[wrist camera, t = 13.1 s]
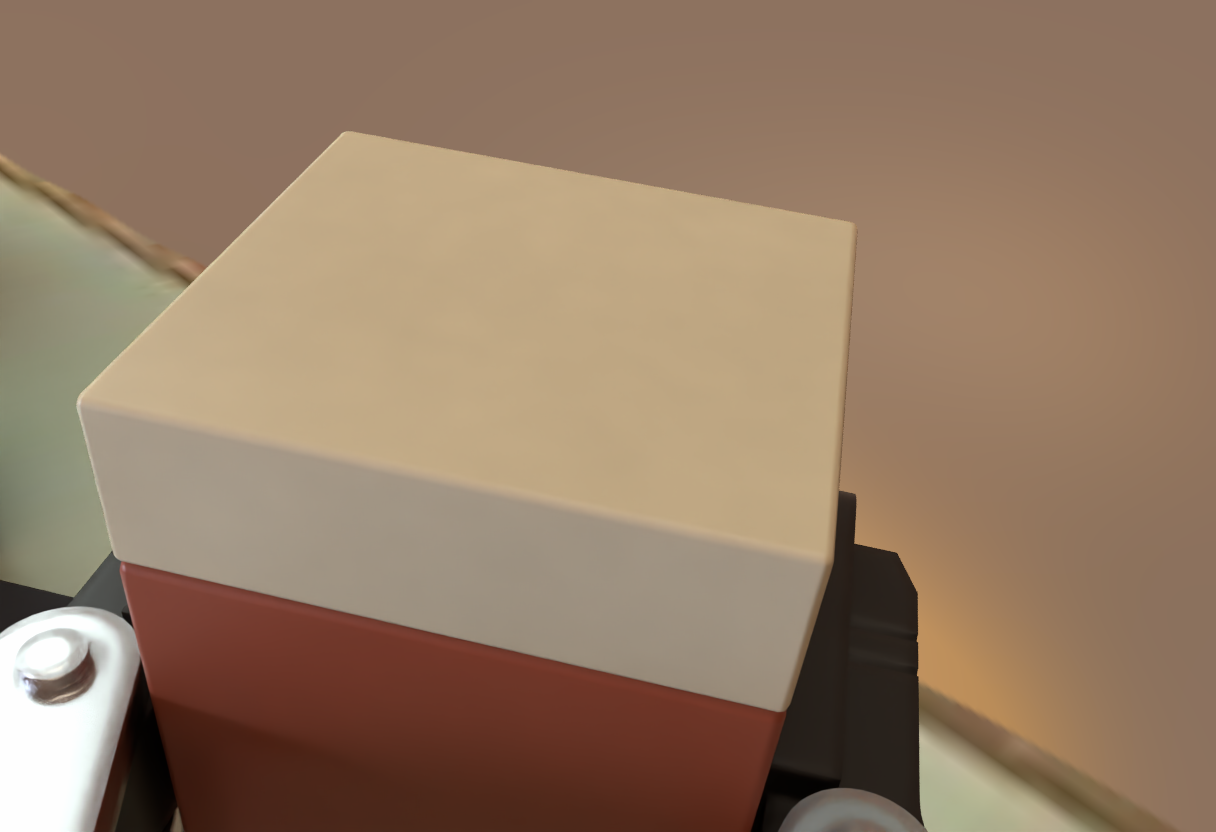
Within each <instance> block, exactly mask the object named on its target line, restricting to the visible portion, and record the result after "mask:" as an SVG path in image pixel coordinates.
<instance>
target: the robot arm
mask: <svg viewBox="0 0 1216 832" xmlns="http://www.w3.org/2000/svg"><path fill="white" fill-rule="evenodd" d="M855 520H856V495H855V494H853V493H848V492H844V491H839V497H838V511H837V525H836V539H835V553H834V563H833V567H832V570H831V573H830V577H829V580H828V583H827V586H826V590H825V593H824V596H823V599H822V603H821V606H820V609H819V612H818V616H817V619H816V622H815V625H814V629H813V632H812V635H811V638H810V642H809V645H808V648H807V651H806V655H805V658H804V661H803V665H802V668H801V671H800V674H799V678H798V681H797V684H796V687H795V691H794V694H793V697H792V700H791V704H790V705H789V707H788V708H787V711H786V718H785V721H784V724H783V727H782V731H781V734H780V737H779V741H778V744H777V747H776V750H775V754H774V757H773V760H772V763H771V767H770V770H769V773H768V776H767V780H766V783H765V786H764V790H763V793H762V796H761V799H760V803H759V806H758V809H757V812H756V816H755V819H754V822H753V825H752V829H751V832H927V830H926V829H925V828H924V824H923V820H922V816H921V809H920V785H919V688H918V676H917V671H918V642H917V636H918V600H917V599H918V597H917V596H918V594H917V591H916V589H915V587H914V585H913V583H912V581H911V580H910V577H909V576H908V574H907V572H906V570H905V568H904V566H903V564H902V562H901V560H900V558H899V556H898V554H897V553H895V552H891V551H886V550H881V549H877V548H872V547H867V546H863V545H858V544H854V538H855ZM121 562H122V561H120V560H119V559H117V558H116V557H115V556H114V555H113V551H112V552H111V553H110V554H109V555H108V557H107V558H106V559H105V560H104V562H103V563H102V564H101V565H100V567H99V568H98V569H97V570H96V571H95V573H94V574H93V575H92V576H91V578H90V579H89V580H88V581H87V583H86V584H85V585H84V586H83V587H82V589H81V590H80V591H79V592H78V594H77V595H76V596H75V597H74V599H73V600H72V601H71V602H70V603H69V604H68V605H67V606H66V607H64V608H58V609H53V610H48V611H45V612H41V613H38V614H35V615H32V616H30V617H28V618H25V619H23V620H21V621H19V622H17V623H15V624H14V625H12V626H10V627H8V628H7V629H5V630H4V631H3V632H1V633H0V832H183V826H182V822H181V818H180V813H179V809H178V805H177V801H176V797H175V793H174V789H173V785H172V781H171V777H170V773H169V769H168V765H167V761H166V757H165V753H164V749H163V745H162V741H161V737H160V733H159V729H158V725H157V720H156V716H155V712H154V708H153V704H152V700H151V696H150V692H149V688H148V684H147V680H146V676H145V672H144V668H143V664H142V660H141V656H140V652H139V648H138V644H137V640H136V636H135V632H134V627H133V623H132V619H131V615H130V611H129V607H128V603H127V599H126V595H125V591H124V587H123V583H122V579H121V575H120V566H121Z"/></svg>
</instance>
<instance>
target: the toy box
mask: <svg viewBox="0 0 1216 832" xmlns="http://www.w3.org/2000/svg"><path fill="white" fill-rule="evenodd" d="M856 245H857V226H856V225H855V224H854V223H852V222H847V221H842V220H836V219H830V218H825V217H820V216H814V215H809V214H803V213H798V212H792V211H787V210H781V209H776V208H770V207H765V206H759V205H754V204H748V203H743V202H737V201H732V200H726V199H720V198H715V197H709V196H704V195H698V194H693V193H687V192H682V191H676V190H671V189H665V188H660V187H654V186H649V185H642V184H638V183H632V182H627V181H621V180H616V179H610V178H605V177H599V176H593V175H588V174H583V173H577V172H571V171H566V170H561V169H555V168H550V167H544V166H538V165H532V164H528V163H522V162H517V161H511V160H505V159H500V158H495V157H489V156H484V155H478V154H472V153H467V152H461V151H456V150H450V149H445V148H439V147H434V146H428V145H422V144H417V143H412V142H406V141H401V140H395V139H389V138H384V137H378V136H373V135H367V134H361V133H357V132H351V131H348V132H343V133H342V134H341V135H340V136H339V137H338V138H337V139H336V140H335V141H334V142H333V143H332V144H331V145H330V146H329V147H328V148H327V149H326V150H325V151H324V152H323V153H322V154H321V155H320V156H319V157H318V158H317V159H316V160H315V161H314V162H313V163H312V164H311V165H310V166H309V167H308V168H307V169H306V170H305V171H304V172H303V173H302V174H301V175H300V176H299V177H298V178H297V179H296V180H295V181H294V182H293V183H292V184H291V185H290V186H289V187H288V188H287V189H286V190H285V191H284V192H283V193H282V194H281V195H280V196H279V197H278V198H277V199H276V200H275V201H274V202H273V203H272V204H271V205H270V206H269V207H268V208H267V209H266V210H265V211H264V212H263V213H262V214H261V215H260V216H259V217H258V218H257V219H256V220H255V221H254V222H253V223H252V224H251V225H250V226H249V227H248V228H247V229H246V230H245V231H244V232H243V233H242V234H241V235H240V236H239V237H238V238H237V239H236V240H235V241H233V243H231V244H230V245H229V247H227V248H226V249H225V250H224V251H223V252H222V253H221V254H220V255H219V256H218V258H217V259H216V260H214V261H213V262H212V263H211V265H209V266H208V267H207V268H206V269H205V270H204V271H203V272H202V273H201V274H200V275H199V276H198V277H197V278H196V279H195V280H194V281H193V282H192V283H191V284H190V285H189V286H188V287H187V288H186V289H185V290H184V291H183V292H182V293H181V294H180V295H179V296H178V297H177V298H176V299H175V300H174V301H173V302H172V303H171V304H170V305H169V306H168V307H167V308H166V309H165V310H164V311H163V312H162V313H161V314H160V315H159V316H158V317H157V318H156V319H155V320H154V321H153V322H152V323H151V324H150V325H149V326H148V327H147V328H146V329H145V330H144V331H143V332H142V333H141V334H140V335H139V336H138V337H137V338H136V339H135V340H134V341H133V342H132V343H131V344H130V345H129V346H128V347H127V348H126V349H125V350H124V351H123V352H122V353H121V354H120V355H119V356H118V357H117V358H116V359H115V360H114V361H113V362H112V363H111V364H110V365H109V366H108V367H107V368H106V369H105V370H104V371H103V372H102V373H101V374H100V375H99V376H98V377H97V378H96V379H95V380H94V381H93V382H92V383H91V384H90V385H89V386H88V387H87V388H86V389H85V390H84V391H83V392H82V393H81V394H80V395H79V397H78V399H77V405H76V406H77V410H78V414H79V418H80V422H81V426H82V430H83V434H84V438H85V442H86V446H87V450H88V454H89V458H90V462H91V466H92V470H93V474H94V478H95V482H96V486H97V490H98V494H99V498H100V502H101V506H102V510H103V514H104V518H105V522H106V526H107V530H108V534H109V538H110V543H111V547H112V551H113V555H114V556H115V557H116V558H117V559H119V560H120V561H122V562H121V566H120V575H121V579H122V583H123V587H124V591H125V595H126V599H127V603H128V607H129V611H130V615H131V619H132V623H133V627H134V632H135V636H136V640H137V644H138V648H139V652H140V656H141V660H142V664H143V668H144V672H145V676H146V680H147V684H148V688H149V692H150V696H151V700H152V704H153V708H154V712H155V716H156V720H157V725H158V729H159V733H160V737H161V741H162V745H163V749H164V753H165V757H166V761H167V765H168V769H169V773H170V777H171V781H172V785H173V789H174V793H175V797H176V801H177V805H178V809H179V813H180V818H181V822H182V826H183V830H184V832H751V829H752V825H753V822H754V819H755V816H756V812H757V809H758V806H759V803H760V799H761V796H762V793H763V790H764V786H765V783H766V780H767V776H768V773H769V770H770V767H771V763H772V760H773V757H774V754H775V750H776V747H777V744H778V741H779V737H780V734H781V731H782V727H783V724H784V721H785V718H786V711H787V708H788V707H789V705H790V704H791V700H792V697H793V694H794V691H795V687H796V684H797V681H798V678H799V674H800V671H801V668H802V665H803V661H804V658H805V655H806V651H807V648H808V645H809V642H810V638H811V635H812V632H813V629H814V625H815V622H816V619H817V616H818V612H819V609H820V606H821V603H822V599H823V596H824V593H825V590H826V586H827V583H828V580H829V577H830V573H831V570H832V567H833V563H834V553H835V539H836V525H837V511H838V497H839V483H840V468H841V454H842V441H843V427H844V413H845V399H846V384H847V370H848V356H849V343H850V328H851V315H852V300H853V286H854V273H855V259H856Z"/></svg>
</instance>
